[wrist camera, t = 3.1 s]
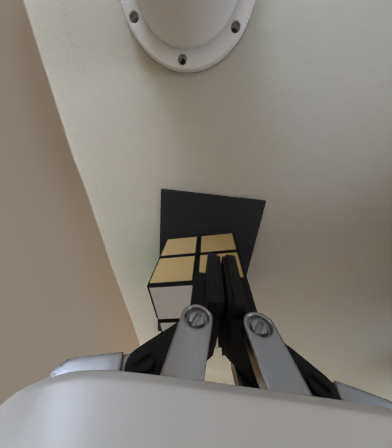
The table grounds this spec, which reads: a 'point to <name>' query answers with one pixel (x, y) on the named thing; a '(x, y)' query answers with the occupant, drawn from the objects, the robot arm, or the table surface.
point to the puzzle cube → (185, 273)
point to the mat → (210, 219)
